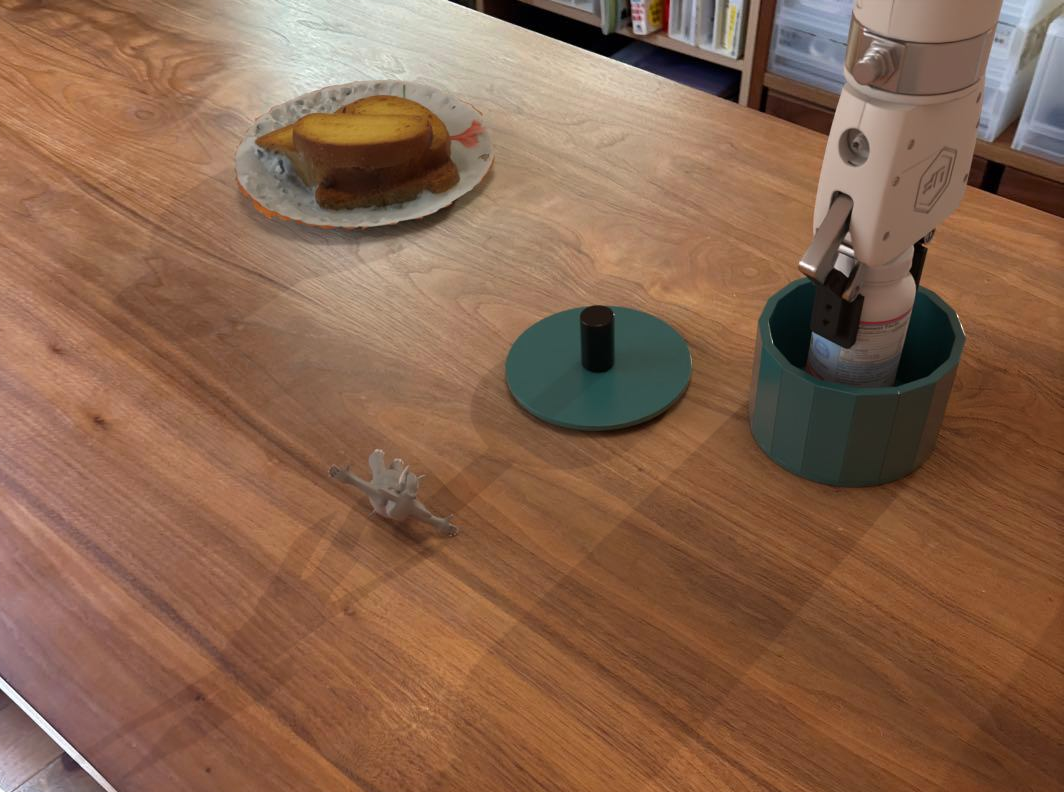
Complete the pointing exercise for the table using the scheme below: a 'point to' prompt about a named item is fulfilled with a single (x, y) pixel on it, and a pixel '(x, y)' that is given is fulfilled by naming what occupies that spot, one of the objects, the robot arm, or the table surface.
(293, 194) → the food on plate
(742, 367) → the table surface
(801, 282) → the pot
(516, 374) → the lid
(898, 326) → the pill bottle
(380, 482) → the grey monster figurine
